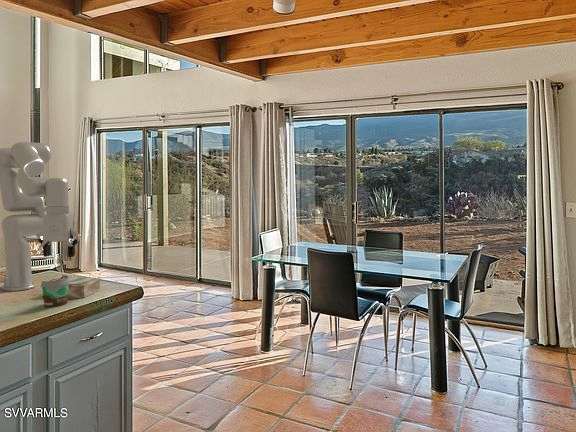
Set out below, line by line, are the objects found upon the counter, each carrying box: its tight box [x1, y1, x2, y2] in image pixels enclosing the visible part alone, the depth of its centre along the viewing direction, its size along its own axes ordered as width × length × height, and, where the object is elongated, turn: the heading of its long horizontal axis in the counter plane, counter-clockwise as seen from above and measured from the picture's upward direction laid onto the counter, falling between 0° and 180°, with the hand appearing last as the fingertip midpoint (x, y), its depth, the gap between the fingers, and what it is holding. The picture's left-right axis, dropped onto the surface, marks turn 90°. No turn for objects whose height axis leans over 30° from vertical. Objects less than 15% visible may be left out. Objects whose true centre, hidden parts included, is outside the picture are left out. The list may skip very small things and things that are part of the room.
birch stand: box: [68, 276, 101, 299], centre depth 192 cm, size 16×12×5 cm
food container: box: [40, 274, 70, 308], centre depth 176 cm, size 12×6×10 cm, turn 168°
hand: (59, 256), depth 174 cm, fingers open, 9 cm apart
